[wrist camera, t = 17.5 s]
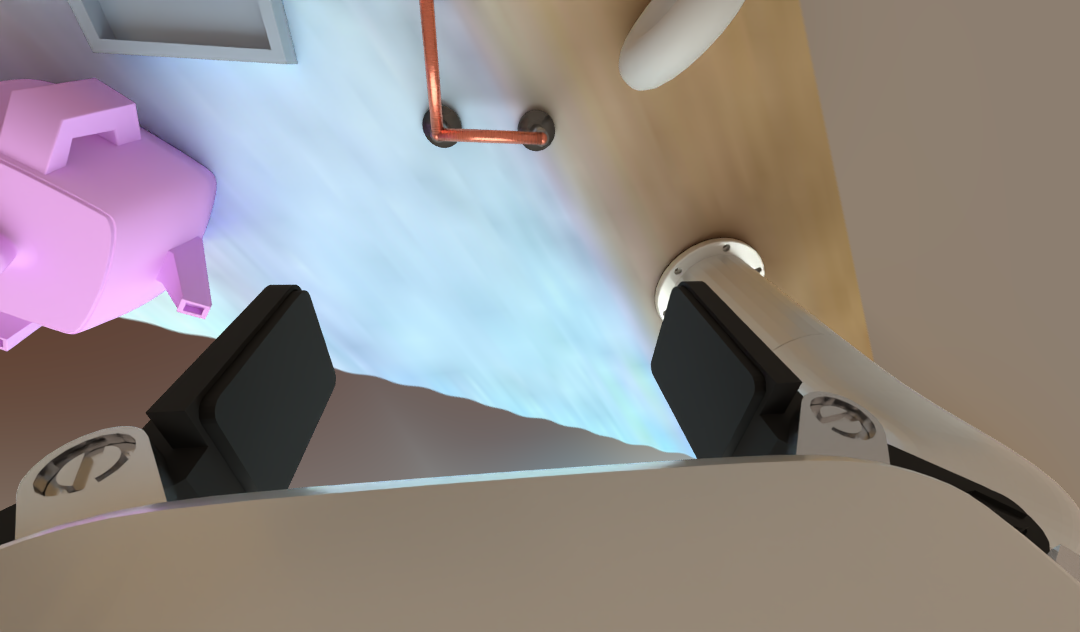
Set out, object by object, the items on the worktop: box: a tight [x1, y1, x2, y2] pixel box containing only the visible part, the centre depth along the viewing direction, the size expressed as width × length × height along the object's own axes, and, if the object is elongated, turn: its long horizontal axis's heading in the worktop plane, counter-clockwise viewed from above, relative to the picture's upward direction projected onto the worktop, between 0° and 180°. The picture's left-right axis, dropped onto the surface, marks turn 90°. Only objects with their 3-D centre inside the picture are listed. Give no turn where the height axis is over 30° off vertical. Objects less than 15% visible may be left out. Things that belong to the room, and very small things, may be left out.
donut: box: [619, 0, 745, 91], centre depth 26 cm, size 10×4×10 cm, turn 140°
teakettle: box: [0, 78, 216, 351], centre depth 28 cm, size 17×17×12 cm
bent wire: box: [419, 0, 555, 151], centre depth 28 cm, size 13×19×4 cm
